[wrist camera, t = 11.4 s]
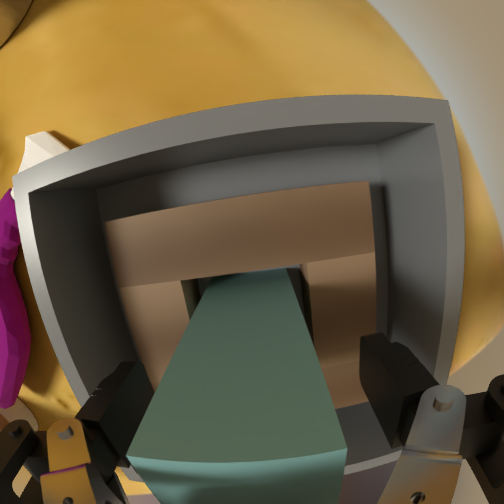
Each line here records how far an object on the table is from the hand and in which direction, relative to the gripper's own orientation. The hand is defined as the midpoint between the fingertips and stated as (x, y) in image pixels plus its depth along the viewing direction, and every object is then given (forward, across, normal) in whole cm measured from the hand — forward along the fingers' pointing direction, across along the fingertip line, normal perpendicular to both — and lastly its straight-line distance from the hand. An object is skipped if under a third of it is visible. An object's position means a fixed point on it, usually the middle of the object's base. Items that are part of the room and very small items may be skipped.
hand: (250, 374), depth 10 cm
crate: (+8, 0, 0) cm, 8 cm away
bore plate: (+8, 0, 0) cm, 8 cm away
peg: (+7, 0, 0) cm, 7 cm away
